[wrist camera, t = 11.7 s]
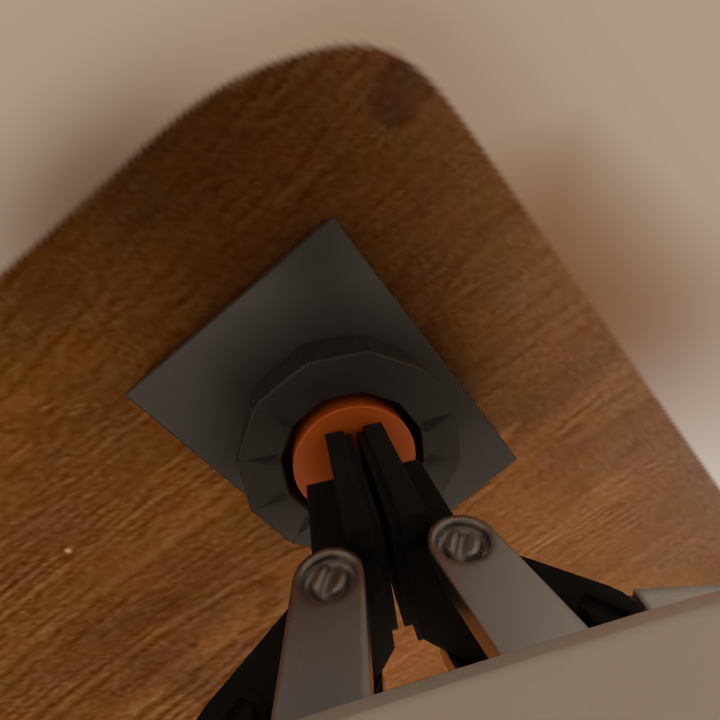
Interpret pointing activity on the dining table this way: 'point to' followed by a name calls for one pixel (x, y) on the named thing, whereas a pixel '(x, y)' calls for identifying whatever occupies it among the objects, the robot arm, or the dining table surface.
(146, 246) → the dining table surface
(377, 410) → the button
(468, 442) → the button box
